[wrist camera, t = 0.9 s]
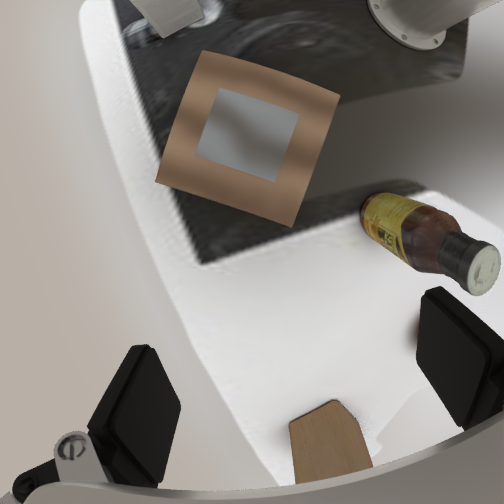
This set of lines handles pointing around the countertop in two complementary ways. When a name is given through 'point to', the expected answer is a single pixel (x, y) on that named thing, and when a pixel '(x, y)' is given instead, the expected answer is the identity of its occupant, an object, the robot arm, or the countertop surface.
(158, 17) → the skincare box
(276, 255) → the countertop surface
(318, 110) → the walnut picture frame
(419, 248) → the sauce bottle
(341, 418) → the wooden block
